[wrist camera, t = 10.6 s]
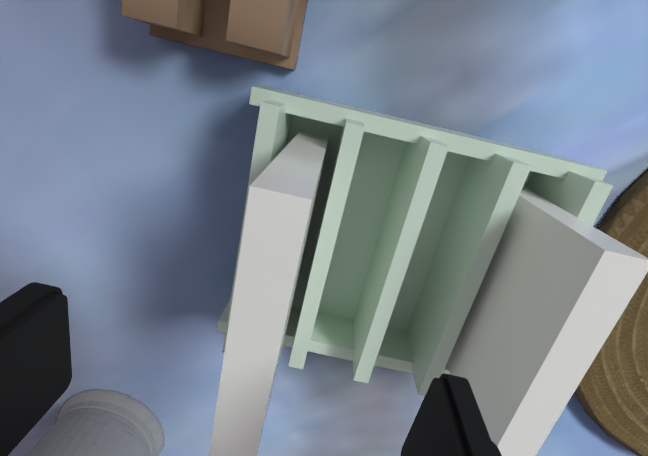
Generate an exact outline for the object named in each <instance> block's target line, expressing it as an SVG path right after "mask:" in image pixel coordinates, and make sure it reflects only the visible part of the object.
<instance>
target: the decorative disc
mask: <svg viewBox="0 0 648 456" xmlns="http://www.w3.org/2000/svg"><path fill="white" fill-rule="evenodd" d="M598 230H600V231H602V232H603V233H605V234H607V235H609V236H610V237H612V238H614V239H615V240H617V241H619V242H621V243H622V244H624V245H626V246H628V247H629V248H631V249H633V250H635V251H636V252H638V253H640V254H642V255H643V256H645V257H647V258H648V169H647V170H646V171H645V172H644V174H643V175H642V176H641V177H640V178H639V179H638V180H637V181H636V182H635V183H634V184H633V185H632V186H631V187H630V188H629V189H628V190H627V191H626V192H625V193H624V194H623V195H622V196H621V198H620V199H619V200H618V202H617V203H616V204H615V206H614V207H613V209H612V210H611V211H610V213H609V214H608V215H607V217H606V218H605V220H604V221H603V222H602V224H601V225H600V226H599V228H598ZM575 393H576V395H577V396H578V398H579V400H580V402H581V404H582V405H583V407H584V409H585V411H586V413H587V414H588V415H589V416H590V417H591V418H592V419H593V420H594V421H595V422H596V423H597V424H598V425H599V426H600V427H601V429H602V430H603V431H604V432H605V433H606V434H607V435H608V436H609V437H611V438H612V439H614V440H615V441H617V442H618V443H620V444H621V445H623V446H624V447H626V448H627V449H629V450H630V451H632V452H633V453H635V454H636V455H639V456H648V272H647V274H646V275H645V277H644V279H643V280H642V282H641V284H640V285H639V287H638V288H637V290H636V292H635V293H634V295H633V297H632V298H631V300H630V302H629V303H628V305H627V306H626V308H625V310H624V311H623V313H622V315H621V316H620V318H619V320H618V321H617V323H616V325H615V326H614V328H613V329H612V331H611V333H610V334H609V336H608V338H607V339H606V341H605V343H604V344H603V346H602V347H601V349H600V351H599V352H598V354H597V356H596V357H595V359H594V361H593V362H592V364H591V365H590V367H589V369H588V370H587V372H586V374H585V375H584V377H583V379H582V380H581V382H580V383H579V385H578V387H577V388H576V390H575Z"/></svg>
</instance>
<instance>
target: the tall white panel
mask: <svg viewBox="0 0 648 456" xmlns="http://www.w3.org/2000/svg"><path fill="white" fill-rule="evenodd" d="M328 141H329V137H328V136H324V135H320V134H315V133H311V132H307V131H302V130H301V131H300V132H299V133H298V134H297V135H296V136H295V137H294V138H293V139H292V140H291V141H290V143H289V144H288V145H287V146H286V147H285V148H284V149H283V150H282V151H281V152H280V153H279V155H278V156H277V157H276V158H275V159H274V160H273V161H272V162H271V163H270V164H269V165H268V166H267V168H266V169H265V170H264V171H263V172H262V173H261V174H260V175H259V176H258V177H257V178H256V180H255V181H254V182H253V183H252V184H251V185H250V187H249V194H248V200H247V207H246V214H245V220H244V227H243V233H242V240H241V247H240V253H239V260H238V267H237V273H236V280H235V286H234V293H233V300H232V306H231V313H230V319H229V326H228V333H227V339H226V346H225V353H224V359H223V366H222V372H221V379H220V386H219V392H218V399H217V405H216V412H215V419H214V425H213V432H212V439H211V445H210V452H209V456H257V452H258V448H259V444H260V440H261V435H262V431H263V427H264V423H265V418H266V414H267V410H268V406H269V401H270V397H271V393H272V388H273V384H274V380H275V376H276V371H277V367H278V363H279V359H280V354H281V350H282V346H283V342H284V337H285V333H286V329H287V325H288V320H289V316H290V312H291V308H292V303H293V299H294V295H295V290H296V286H297V281H298V277H299V272H300V268H301V263H302V259H303V254H304V250H305V245H306V241H307V236H308V232H309V227H310V222H311V218H312V213H313V209H314V204H315V200H316V195H317V191H318V186H319V182H320V177H321V173H322V168H323V164H324V159H325V155H326V150H327V145H328Z"/></svg>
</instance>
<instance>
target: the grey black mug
mask: <svg viewBox="0 0 648 456" xmlns="http://www.w3.org/2000/svg"><path fill="white" fill-rule="evenodd" d="M163 446H164V432H163V429H162V426H161V424H160V422H159V421H158V419H157V417H156V416H155V415H154V414H153V413H152V412H151V411H150V410H149V409H148V408H147V407H146V406H145V405H143V404H142V403H140V402H139V401H137V400H135V399H133V398H131V397H129V396H127V395H124V394H121V393H119V392H114V391H110V390H99V389H98V390H87V391H83V392H80V393H78V394H75V395H73V396H72V397H70V398H69V399H68V400H67V401H66V402H65V403H64V404H63V406H62V408H61V410H60V412H59V415H58V419H57V421H56V423H55V424H54V425H53V426H52V427H51V429H50V430H49V431H48V432H47V433H46V434H45V436H44V437H43V438H42V439H41V440H40V441H39V443H38V444H37V445H36V446H35V447H34V449H33V450H32V451H31V452H30V453H29V454H28V456H158V455H159V454H160V452H161V451H162V449H163Z"/></svg>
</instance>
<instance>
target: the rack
mask: <svg viewBox="0 0 648 456" xmlns="http://www.w3.org/2000/svg"><path fill="white" fill-rule="evenodd" d="M249 104H251V105H255V106H259V107H260V110H259V117H258V123H257V130H256V136H255V143H254V149H253V156H252V162H251V169H250V175H249V182H248V188H247V195H246V201H245V208H244V214H243V221H242V227H241V234H240V240H239V247H238V253H237V260H236V266H235V273H234V279H233V286H232V292H231V297H230V299H229V301H228V303H227V305H226V307H225V309H224V311H223V313H222V314H221V316H220V318H219V320H218V326H217V332H221V333H225V338H224V345H223V351H222V352H224V353H225V346H226V339H227V333H228V326H229V319H230V313H231V306H232V300H233V293H234V286H235V280H236V273H237V267H238V260H239V253H240V247H241V240H242V233H243V227H244V220H245V214H246V207H247V200H248V194H249V187H250V185H251V184H252V183H253V182H254V181H255V180H256V178H257V177H258V176H259V175H260V174H261V173H262V172H263V171H264V170H265V169H266V168H267V166H268V165H269V164H270V163H271V162H272V161H273V160H274V159H275V158H276V157H277V156H278V155H279V153H280V152H281V151H282V150H283V149H284V148H285V147H286V146H287V145H288V144H289V143H290V141H291V140H292V139H293V138H294V137H295V136H296V135H297V134H298V133H299V132H300V131H301V130H302V131H307V132H311V133H315V134H320V135H324V136H328V137H329V141H328V145H327V150H326V155H325V159H324V164H323V168H322V173H321V177H320V182H319V186H318V191H317V195H316V200H315V204H314V209H313V213H312V218H311V222H310V227H309V232H308V236H307V241H306V245H305V250H304V254H303V259H302V263H301V268H300V272H299V277H298V281H297V286H296V290H295V295H294V299H293V303H292V308H291V312H290V316H289V320H288V325H287V329H286V333H285V337H284V342H283V346H285V347H290V348H292V350H291V355H290V360H289V365H288V366H289V367H294V368H298V369H303V367H304V363H305V359H306V355H307V351H309V352H313V353H318V354H323V355H327V356H332V357H336V358H341V359H346V360H350V361H353V380H354V381H359V382H364V383H368V382H369V379H370V376H371V373H372V370H373V367H374V366H378V367H383V368H387V369H392V370H397V371H401V372H406V373H411V374H413V375H414V380H415V384H416V388H417V392H418V394H420V395H424V396H425V395H426V393H427V391H428V389H429V386H430V384H431V382H432V380H433V379H434V378H439V377H440V376H441V375H442V374H443V373H445V374H450V375H454V376H459V377H463V378H466V379H467V380H468V381H469V383H470V386H471V388H472V391H473V394H474V396H475V399H476V402H477V404H478V407H479V410H480V412H481V415H482V417H483V420H484V423H485V425H486V428H487V431H488V433H489V436H490V438H491V441H493V442H494V443H495V444H496V445H497V447H498V449H499V451H500V453H501V455H502V456H536V454H537V452H538V451H539V449H540V447H541V446H542V444H543V442H544V441H545V439H546V438H547V436H548V434H549V433H550V431H551V429H552V428H553V426H554V424H555V423H556V421H557V419H558V418H559V416H560V415H561V413H562V411H563V410H564V408H565V406H566V405H567V403H568V401H569V400H570V398H571V397H572V395H573V393H574V392H575V390H576V388H577V387H578V385H579V383H580V382H581V380H582V379H583V377H584V375H585V374H586V372H587V370H588V369H589V367H590V365H591V364H592V362H593V361H594V359H595V357H596V356H597V354H598V352H599V351H600V349H601V347H602V346H603V344H604V343H605V341H606V339H607V338H608V336H609V334H610V333H611V331H612V329H613V328H614V326H615V325H616V323H617V321H618V320H619V318H620V316H621V315H622V313H623V311H624V310H625V308H626V306H627V305H628V303H629V302H630V300H631V298H632V297H633V295H634V293H635V292H636V290H637V288H638V287H639V285H640V284H641V282H642V280H643V279H644V277H645V275H646V274H647V272H648V258H647V257H645V256H643V255H642V254H640V253H638V252H636V251H635V250H633V249H631V248H629V247H628V246H626V245H624V244H622V243H621V242H619V241H617V240H615V239H614V238H612V237H610V236H609V235H607V234H605V233H603V232H602V231H600V230H598V229H596V228H595V227H593V224H594V222H595V220H596V218H597V216H598V214H599V212H600V210H601V208H602V206H603V205H604V203H605V201H606V199H607V197H608V195H609V193H610V191H611V189H612V187H613V185H611V184H608V183H605V182H603V179H604V177H605V175H606V173H607V171H606V170H603V169H600V168H597V167H594V166H591V165H588V164H585V163H582V162H579V161H576V160H573V159H570V158H565V157H561V156H557V155H553V154H549V153H544V152H540V151H536V150H532V149H528V148H524V147H519V146H515V145H511V144H507V143H503V142H498V141H494V140H490V139H486V138H482V137H477V136H473V135H469V134H465V133H461V132H457V131H452V130H448V129H444V128H440V127H436V126H431V125H427V124H423V123H419V122H415V121H410V120H406V119H402V118H398V117H394V116H390V115H385V114H381V113H377V112H373V111H369V110H364V109H360V108H356V107H352V106H348V105H343V104H339V103H335V102H331V101H327V100H323V99H318V98H314V97H310V96H306V95H302V94H297V93H293V92H289V91H285V90H281V89H276V88H272V87H268V86H252V88H251V95H250V102H249Z"/></svg>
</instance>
